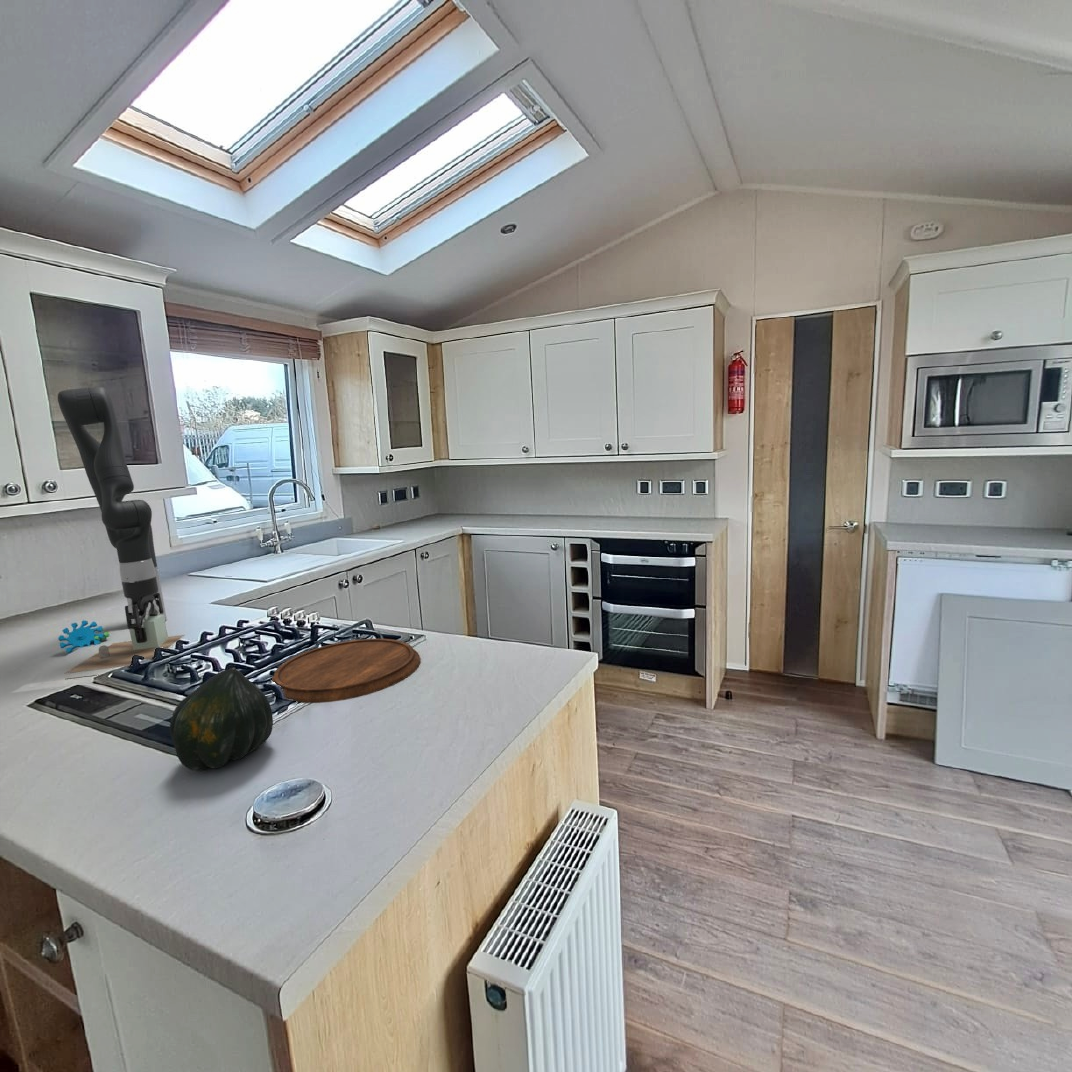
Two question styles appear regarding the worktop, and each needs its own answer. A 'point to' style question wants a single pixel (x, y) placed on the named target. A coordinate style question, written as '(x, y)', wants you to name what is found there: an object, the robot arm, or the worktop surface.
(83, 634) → the gear
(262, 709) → the squash
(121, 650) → the board
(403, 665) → the cutting board
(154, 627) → the pale green block
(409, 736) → the worktop surface
